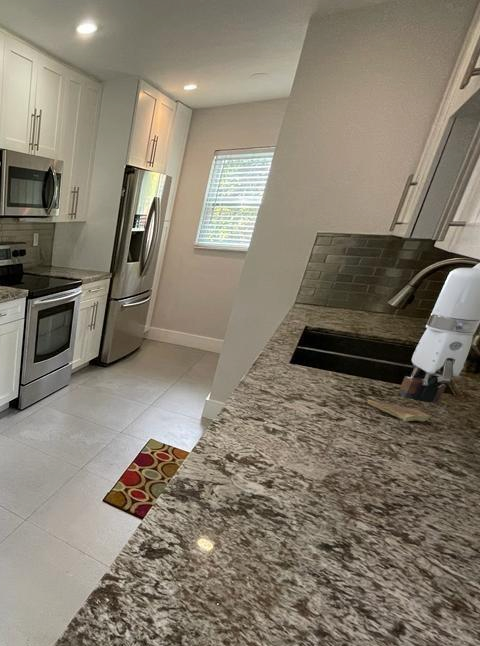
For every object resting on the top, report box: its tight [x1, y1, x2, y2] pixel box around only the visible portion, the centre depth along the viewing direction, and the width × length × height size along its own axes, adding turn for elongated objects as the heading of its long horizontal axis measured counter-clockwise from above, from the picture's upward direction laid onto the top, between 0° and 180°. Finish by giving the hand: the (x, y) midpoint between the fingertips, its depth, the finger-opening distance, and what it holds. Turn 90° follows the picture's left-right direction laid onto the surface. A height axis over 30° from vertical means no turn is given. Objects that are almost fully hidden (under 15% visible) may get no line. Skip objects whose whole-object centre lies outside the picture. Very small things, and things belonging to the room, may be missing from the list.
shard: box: [366, 398, 431, 422], centre depth 110 cm, size 11×8×2 cm
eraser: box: [397, 375, 447, 404], centre depth 98 cm, size 6×4×4 cm, turn 65°
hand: (417, 396), depth 99 cm, fingers closed on eraser, 3 cm apart
